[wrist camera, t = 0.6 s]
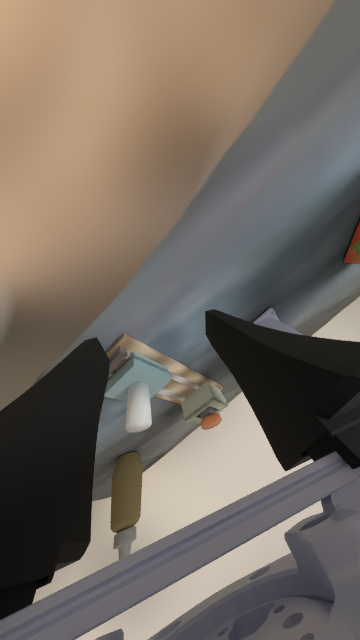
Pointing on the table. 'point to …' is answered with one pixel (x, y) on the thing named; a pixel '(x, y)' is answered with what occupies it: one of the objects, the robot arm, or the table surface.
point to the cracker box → (354, 248)
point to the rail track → (180, 375)
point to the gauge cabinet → (202, 402)
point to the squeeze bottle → (126, 501)
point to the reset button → (209, 418)
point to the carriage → (137, 389)
